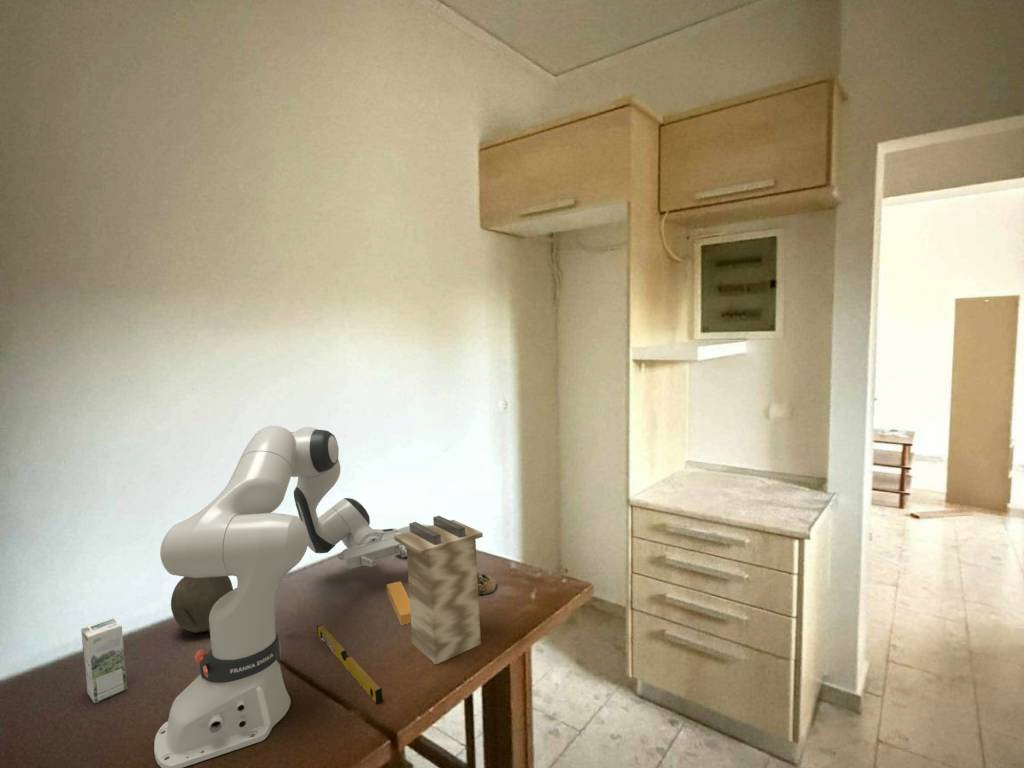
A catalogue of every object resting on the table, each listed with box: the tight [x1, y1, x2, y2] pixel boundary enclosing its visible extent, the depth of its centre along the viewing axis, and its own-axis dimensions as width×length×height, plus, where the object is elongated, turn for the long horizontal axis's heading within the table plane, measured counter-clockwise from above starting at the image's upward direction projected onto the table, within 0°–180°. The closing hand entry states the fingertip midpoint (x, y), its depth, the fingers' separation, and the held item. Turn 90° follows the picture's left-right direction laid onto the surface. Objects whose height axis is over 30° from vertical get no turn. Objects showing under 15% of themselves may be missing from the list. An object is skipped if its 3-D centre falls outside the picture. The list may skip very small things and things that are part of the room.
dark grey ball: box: [170, 576, 234, 634], centre depth 134 cm, size 14×14×15 cm
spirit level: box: [316, 623, 383, 705], centre depth 116 cm, size 33×1×3 cm, turn 39°
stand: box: [394, 515, 484, 666], centre depth 122 cm, size 16×13×28 cm
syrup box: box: [80, 617, 128, 704], centre depth 109 cm, size 6×6×14 cm
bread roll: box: [477, 571, 497, 597], centre depth 151 cm, size 11×11×5 cm
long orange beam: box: [386, 580, 411, 626], centre depth 141 cm, size 4×20×3 cm, turn 23°
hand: (389, 558), depth 146 cm, fingers open, 8 cm apart
